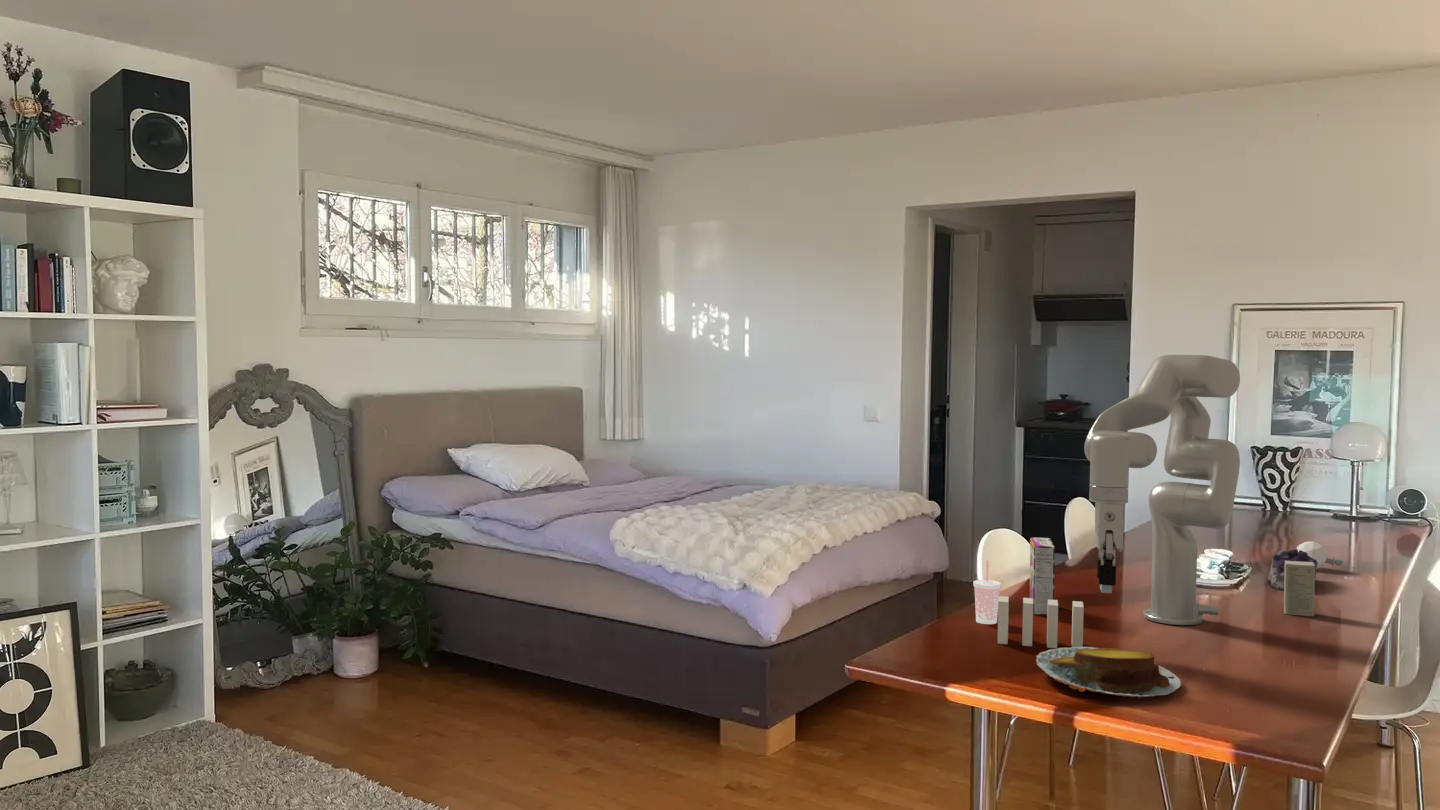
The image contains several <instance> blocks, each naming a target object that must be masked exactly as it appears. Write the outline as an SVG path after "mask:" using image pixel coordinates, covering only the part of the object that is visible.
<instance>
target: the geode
mask: <svg viewBox="0 0 1440 810" xmlns="http://www.w3.org/2000/svg"><path fill="white" fill-rule="evenodd" d="M1285 560H1286V561H1302V562H1313V563H1314V565H1315V579H1316V577H1317V576H1316V575H1317V573H1318V569H1317V564H1318V562H1317V561H1316V559H1313V558H1312V557H1309V556H1308V555H1307V553H1306V552H1304V551H1301V550H1299V552H1298V549H1297V548H1296V549H1291V550H1287V551H1286V550H1279V551H1278V552H1277V553H1276V554H1274V556H1272V558H1271V561H1272V562H1271V564H1270V565H1271V566H1270V570H1269V574H1268V578H1267V581H1266V582H1267V583H1270V586H1271V589H1273V590H1276V591H1282V592H1284V571H1285Z"/></svg>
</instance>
